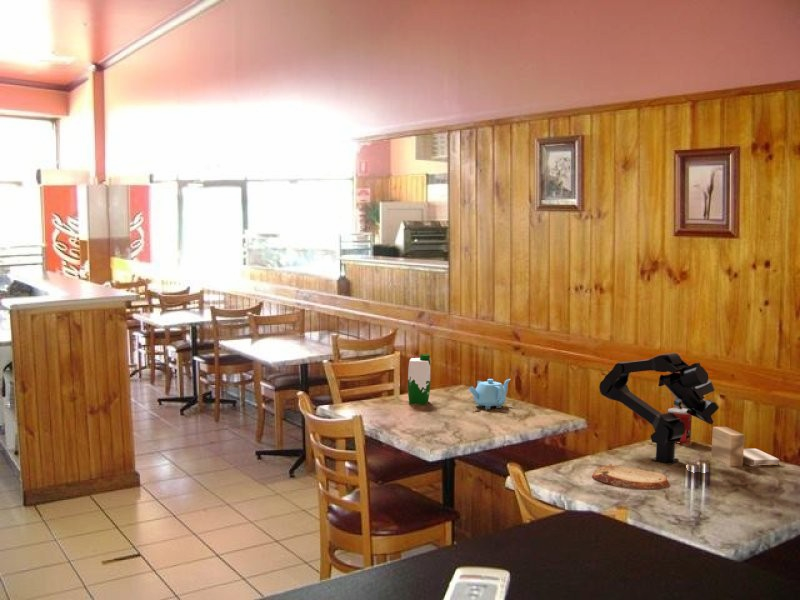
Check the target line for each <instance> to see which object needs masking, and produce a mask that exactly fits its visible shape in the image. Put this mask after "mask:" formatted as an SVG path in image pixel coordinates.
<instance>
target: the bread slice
mask: <svg viewBox="0 0 800 600" xmlns="http://www.w3.org/2000/svg"><path fill="white" fill-rule="evenodd" d="M591 479H593V481H597V482H601V483H602V484H605V485H610V486H616V487H619V488H620V487H621V488H629V489H630V488H631V489H661V488H666V487H669V485H670V482H669V480H668V478H667V477H666V475H664V474H662V473H659V472H654V471H649V470H643V469H639V468H631V467H625V466H619V465H612V464H608V465H604V466H601V467H599V468H598V469H596V470H594V472H593V474H592V475H591Z"/></svg>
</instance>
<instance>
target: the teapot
mask: <svg viewBox="0 0 800 600" xmlns="http://www.w3.org/2000/svg"><path fill="white" fill-rule="evenodd" d="M476 381H477V382H476V384H477V385H476V388H474V386H473V385H472V386H470V387H469V388H468V391H469V392H470V393H471V394H472V396H473V401H474V402H475V404H476V405H477V407H484V409H485V410H490V409H491V407H495V408H497V409H501V408H503V407H502V406H503V405H504V404H505V403H506V401H507V394H508V387H509V386H508V384H509V382H510V381H511V378H508V379H505V380H504V383H503V384H502V383H501V382H498V381H494V379H493V378H488V379H487V381H482V380H476Z"/></svg>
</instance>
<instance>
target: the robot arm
mask: <svg viewBox="0 0 800 600" xmlns="http://www.w3.org/2000/svg"><path fill="white" fill-rule="evenodd" d="M646 371H647V372H649V371H653V372H658V373H668V374H660V376H659V378H658V385H657V386H658V387H662V386H665V387H666V388H667V389H668V390H669V391H670V392H671V393H672V395H673V398H674V400H673V405H674V406H675V408H678V409H680V410H681V409H682V408H684V409H687V411H686V413H688V414H690V415H692V417H695V418H696V419H699V420H700V421H703V422H705V423H707V424H709V425H713V423H714V420H713V417H712V416H713V414H715V413H716V412H717V410H718V409H720V406H719V405H718V403H717V402H716V401H713V400H710V399H709V400H708V399H706V400H704V399H705V395H707V394H710V393H713V392H715V386H714V384H713V381H711V380H710V379H709V374H708V372H707V371H706V369H705V368H704V367H703V366H701V364H700V362H695V363H692V364H691V365H689V364H688V363H687V362H685V360H683V359H682V358H681V356H680V355H679V354H678V353H677V352H669V353H663V354H658V355H656V356H654V357H651V358H650V359H648V358H647V359H643V360H642V359H641V360H635V361H634V360H633V361H620V362H617V363H616V364H614V366H613V368H612V369H611V370H610V371H609V372H608V373H607V374H606V375H605V376H604V378H603V380H601V382H600V383H599V386H598V387H599V393H600V395H602V396H603V397H605V398H607V399H609V400H613V401H616V402H620V403H621V404H623V405H624V406H625V407H626V408H628V409H629V410H631V412H633V413H635V414H636V415H638V416H639V417H641V418H642V419H643V420H644V421H646V422H648V423H649V424H650V425H651V426H652V428H653V430H654V432H653V433H652V434H651V435H650V440H651V443H654V444H656V445H655V446H656V448H655V456H654V457H652V458H650V459H651V461H653V462H658V463H663V464H667V465H673V464H674V463H676V462H679V458H676V456H675V454H676V443H675V442H680V440H681V438H682V436H683V435H684V434H685V425H684V423H683V422H682V421H680V420H681V418H678V417H676V416H675V415H674V414H673V413H668V412H666V413H661V412H660V411H659V410H657V409H656V408H654V407H653V406H651V405H650V404H648V403H647V402H646V401H645V400H643V399H641V398H640V397H639V396H637V395H636V394H634V393H633V392H632V391H630V388H629V386H628V382H629V376H630V374H631V373H637V372H638V373H639V372H646Z"/></svg>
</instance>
